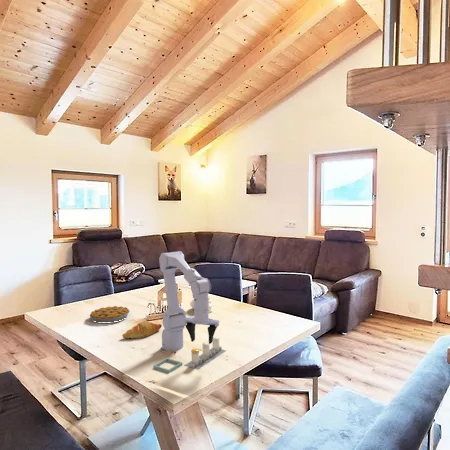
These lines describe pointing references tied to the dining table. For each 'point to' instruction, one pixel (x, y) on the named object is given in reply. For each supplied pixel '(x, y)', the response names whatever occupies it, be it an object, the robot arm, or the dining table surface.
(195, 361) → the cylinder
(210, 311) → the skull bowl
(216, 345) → the fuse far
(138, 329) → the croissant
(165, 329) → the robot arm
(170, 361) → the tray
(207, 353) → the fuse middle
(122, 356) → the dining table surface
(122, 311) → the pie
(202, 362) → the fuse panel
